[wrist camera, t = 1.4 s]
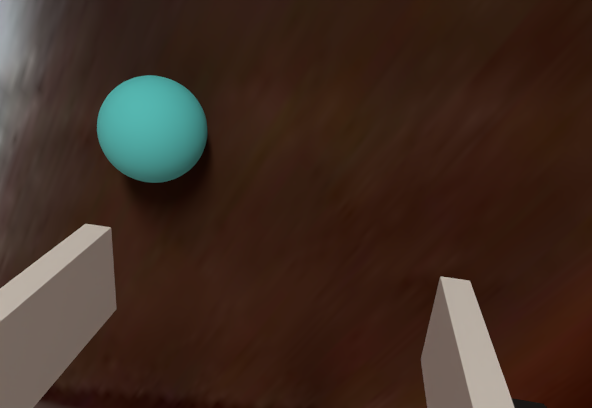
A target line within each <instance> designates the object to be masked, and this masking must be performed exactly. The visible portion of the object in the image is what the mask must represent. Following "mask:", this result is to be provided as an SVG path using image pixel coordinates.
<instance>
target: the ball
mask: <svg viewBox="0 0 592 408" xmlns="http://www.w3.org/2000/svg"><path fill="white" fill-rule="evenodd" d="M97 133H98V139H99V143H100V145H101V148H102V150H103V152H104V154H105V155H106V157H107V158H108V160H109V161H110V162H111V163H112V165H113V166H115V167H116V168H117V169H118V170H119V171H120V172H122V173H123V174H125V175H127V176H129V177H131V178H133V179H136V180H139V181H143V182H151V183H158V182H166V181H170V180H173V179H176V178H178V177H180V176H182V175H183V174H185V173H186V172H188V171H189V170H190V169H191V168H192V167H193V166H194V165H195V164H196V163H197V161H198V160H199V159H200V157H201V155H202V153H203V151H204V148H205V145H206V141H207V122H206V117H205V114H204V111H203V109H202V107H201V105H200V103H199V102H198V100H197V99H196V98H195V96H194V95H193V94H192V93H191V92H190V91H189V90H188V89H186V88H185V87H184V86H182V85H181V84H179V83H177V82H175V81H173V80H171V79H168V78H165V77H160V76H150V75H148V76H140V77H135V78H132V79H130V80H127V81H125V82H123V83H121V84H120V85H118V86H117V87H116V88H115V89H114V90H112V91H111V92H110V94H109V95H108V96H107V97H106V99H105V101H104V102H103V104H102V106H101V108H100V111H99V115H98V121H97Z"/></svg>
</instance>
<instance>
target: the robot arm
mask: <svg viewBox="0 0 592 408" xmlns="http://www.w3.org/2000/svg"><path fill="white" fill-rule="evenodd" d="M115 310H116V296H115V281H114V265H113V250H112V234H111V227H104V226H97V225H90V224H85V225H83V226H82V227H81V228H79V229H78V230H77V231H75V232H74V233H73V234H71V235H70V236H69V237H68V238H66V239H65V240H64V241H62V242H61V243H60V244H58V245H57V246H56V247H54V248H53V249H52V250H50V251H49V252H48V253H46V254H45V255H44V256H43V257H41V258H40V259H39V260H37V261H36V262H35V263H33V264H32V265H31V266H29V267H28V268H27V269H25V270H24V271H23V272H21V273H20V274H19V275H18V276H16V277H15V278H14V279H12V280H11V281H10V282H8V283H7V284H6V285H4V286H3V287H2V288H0V408H33V407H34V406H35V405H36V404H37V402H38V401H39V400H40V399H41V398H42V396H43V395H44V394H45V393H46V392H47V390H48V389H49V388H50V387H51V386H52V385H53V383H54V382H55V381H56V380H57V379H58V377H59V376H60V375H61V374H62V373H63V372H64V370H65V369H66V368H67V367H68V366H69V364H70V363H71V362H72V361H73V360H74V359H75V357H76V356H77V355H78V354H79V353H80V351H81V350H82V349H83V348H84V347H85V346H86V344H87V343H88V342H89V341H90V340H91V338H92V337H93V336H94V335H95V334H96V332H97V331H98V330H99V329H100V328H101V327H102V325H103V324H104V323H105V322H106V321H107V319H108V318H109V317H110V316H111V315H112V314H113V312H114V311H115ZM421 364H422V371H423V379H424V386H425V394H426V401H427V408H547V407H546V406H545V405H544V404H541V403H536V402H530V401H524V400H518V399H512V398H511V396H510V393H509V391H508V388H507V385H506V382H505V379H504V376H503V374H502V371H501V368H500V365H499V362H498V359H497V356H496V354H495V351H494V348H493V345H492V342H491V339H490V337H489V334H488V331H487V328H486V325H485V322H484V320H483V317H482V314H481V311H480V308H479V305H478V302H477V300H476V297H475V294H474V291H473V288H472V285H471V283H470V281H468V280H461V279H454V278H447V277H441V276H440V280H439V284H438V288H437V293H436V297H435V301H434V305H433V310H432V314H431V318H430V323H429V327H428V331H427V335H426V340H425V344H424V348H423V353H422V357H421Z"/></svg>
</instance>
